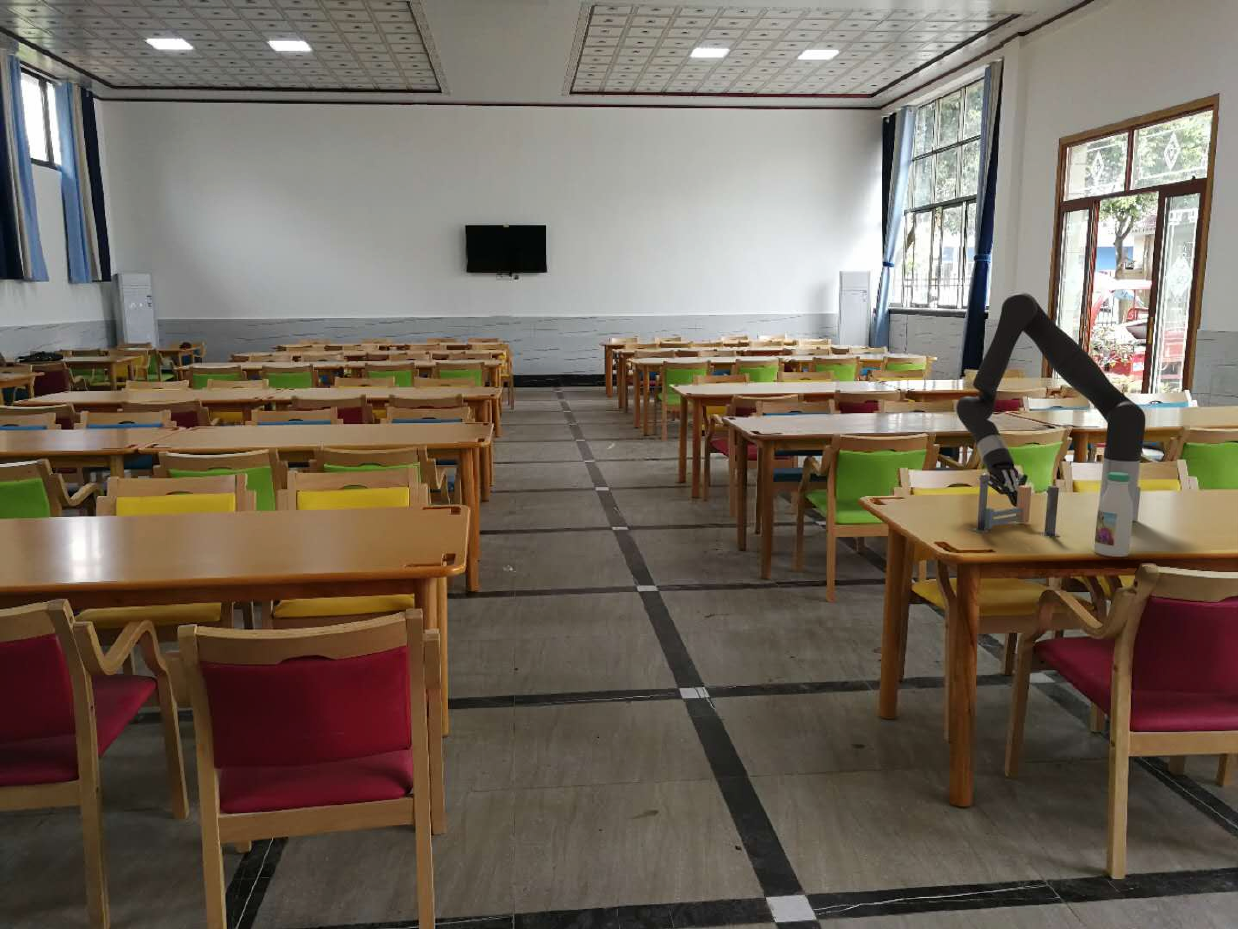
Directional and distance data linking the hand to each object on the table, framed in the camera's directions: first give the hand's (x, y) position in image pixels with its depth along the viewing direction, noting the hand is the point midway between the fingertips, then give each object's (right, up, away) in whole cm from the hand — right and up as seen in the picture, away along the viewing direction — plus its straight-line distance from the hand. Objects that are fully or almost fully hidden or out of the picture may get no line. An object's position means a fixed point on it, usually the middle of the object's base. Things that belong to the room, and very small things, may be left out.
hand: (1018, 505), depth 265 cm
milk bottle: (+9, -11, -32) cm, 35 cm away
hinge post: (-14, -6, -10) cm, 18 cm away
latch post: (+2, -7, -14) cm, 16 cm away
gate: (-5, -5, -5) cm, 9 cm away
